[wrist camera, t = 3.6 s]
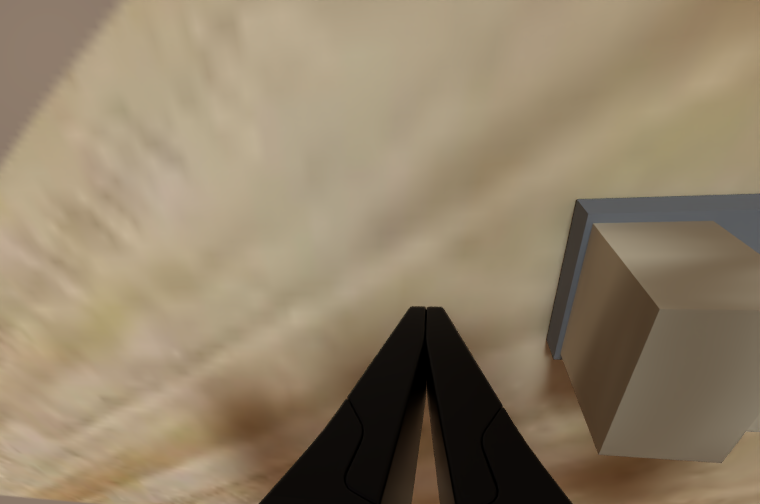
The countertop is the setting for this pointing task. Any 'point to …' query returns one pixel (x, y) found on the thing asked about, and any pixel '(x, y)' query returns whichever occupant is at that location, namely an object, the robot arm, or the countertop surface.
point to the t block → (666, 340)
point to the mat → (732, 212)
